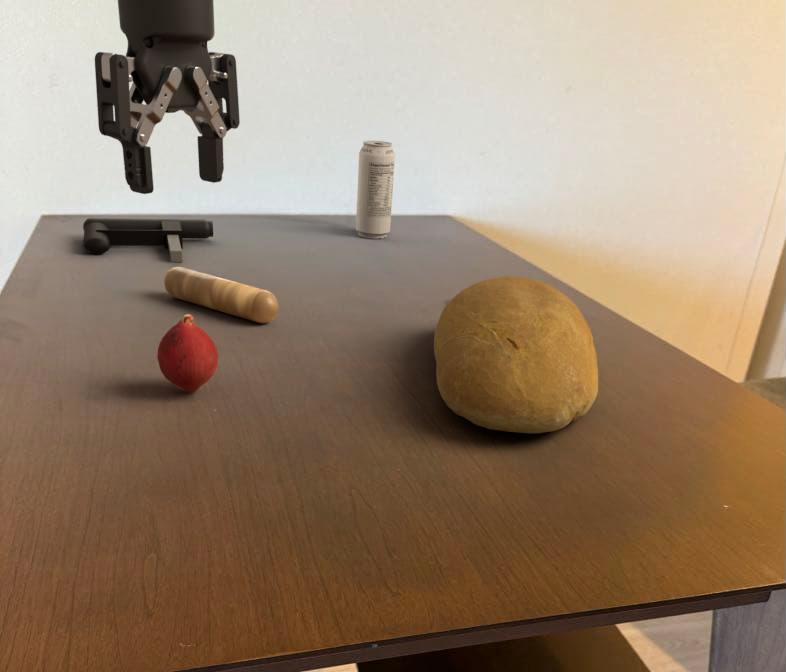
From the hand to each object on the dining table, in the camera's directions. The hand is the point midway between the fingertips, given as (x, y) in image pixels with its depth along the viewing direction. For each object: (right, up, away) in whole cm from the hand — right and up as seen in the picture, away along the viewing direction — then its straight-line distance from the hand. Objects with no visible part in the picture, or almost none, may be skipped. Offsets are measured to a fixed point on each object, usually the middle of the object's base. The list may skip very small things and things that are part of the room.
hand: (177, 186), depth 76 cm
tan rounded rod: (-3, -2, +33) cm, 34 cm away
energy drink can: (+16, +22, +74) cm, 79 cm away
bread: (+33, -14, +19) cm, 41 cm away
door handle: (-18, +14, +56) cm, 61 cm away
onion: (-1, -17, +11) cm, 20 cm away
